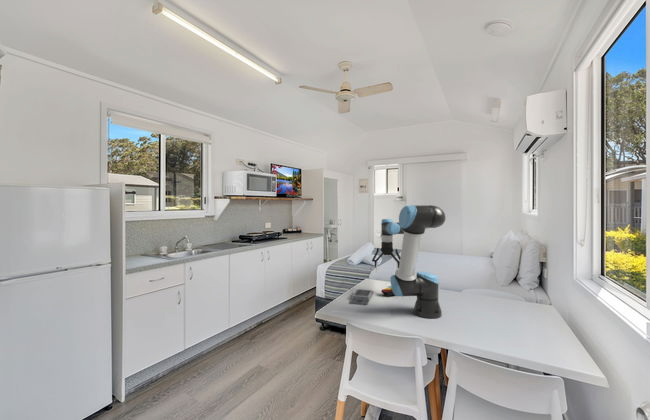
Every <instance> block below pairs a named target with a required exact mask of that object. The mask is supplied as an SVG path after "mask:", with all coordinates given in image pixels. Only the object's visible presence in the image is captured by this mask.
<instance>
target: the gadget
mask: <svg viewBox="0 0 650 420" xmlns="http://www.w3.org/2000/svg"><path fill="white" fill-rule="evenodd" d="M380 292H381V293H382V294H383V296H384V297H390V296H395V295H394V293H393V291H392V287H391V285H389V286H388V287H385V288H383V289H381V291H380Z"/></svg>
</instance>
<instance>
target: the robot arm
mask: <svg viewBox="0 0 650 420" xmlns="http://www.w3.org/2000/svg"><path fill="white" fill-rule="evenodd" d="M393 221H394V220H393V218H382V219H381V224H380V226H381V236H380V238H381V244H380V245H381V247H376V252H375V254H374V256H373V258H372V260H371V262H373V263H374V268H376V269H375V273H378V272H379V271H378V270H379V262H378V261H379V260H380V259H381V257H382V256H383V255H384V256H391V257H392V258H393V260H394V261H395V262H396V270H395V273H394V274H391V276H390V278H389V279H390V286H391V287H392V291H393V293H394V295H393V296H396V297H401V298H402V297H416V301H415V302H414V306H413V313H414V314H415V315H417V316H419V317H420V318H423V319H424V318H426V319H438V318H441V317H442V315H443V311H442V308H441V305H440V303H439V285H440V282H439V277H438V276H437V275H436V274H434V273H431V272H427V271H417V272H415V271H416V266H417V261H418V260H417V259H418V253H419V248H420V242H421V236H422V235H424V234H425V233H426V232H425V231H426V230H427V229H435V228H437V229H438V228H440V227H442V226H443V225H444V224H445V221H446V213H445V212H444V210H443V209H442V208H440V206H436V205H414V204H411V205H405V206H403V207H402V208H401V210H400V211H399V214H398V222H393ZM393 235H403V236H402V237H403V238H402V244H401V249H400V254H399V252H398V249H397V248H394V247H393V245H394V242H393V239H394V238H393ZM380 251H381V253H380V254H379V252H380ZM393 252H394V253H395V254H396V256H397V257H396V256H395V254H394V253H393ZM378 254H379V255H378ZM377 255H378V256H377Z"/></svg>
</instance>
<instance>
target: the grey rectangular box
mask: <svg viewBox="0 0 650 420" xmlns="http://www.w3.org/2000/svg"><path fill="white" fill-rule="evenodd" d="M373 294H374V291H373V290H372V289H361V288H356V290H355V291H354V293H352V295H351V300H350V301H349V304H350V305H360V306H368V304H369V303H370V301H371V299H372V297H373Z"/></svg>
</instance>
